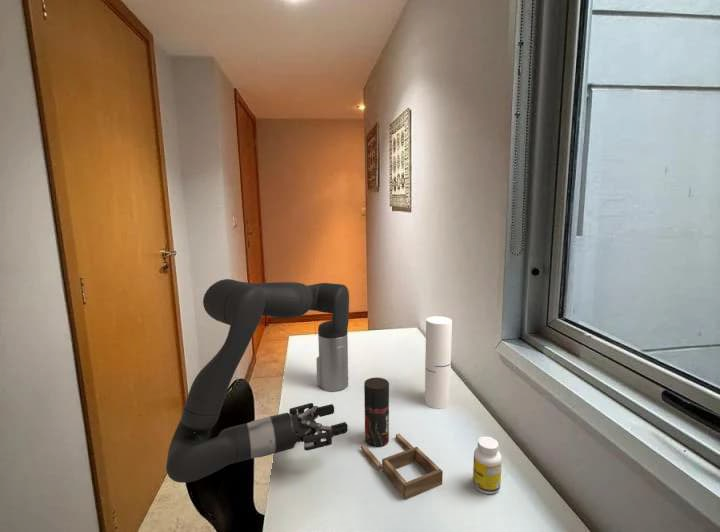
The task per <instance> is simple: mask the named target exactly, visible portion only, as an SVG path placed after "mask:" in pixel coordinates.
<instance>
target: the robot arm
mask: <svg viewBox="0 0 720 532" xmlns="http://www.w3.org/2000/svg"><path fill="white" fill-rule="evenodd" d="M202 304H203V308H204V310H205V312H206V314H207V316H209V317H210V318H212V319H213V320H215V321H216V322H220V323H223V324H225V325H228V326H229V329H228V333H227V337H226V338H225V340H224V343H223V345H222V346H221V347H220V349H219V350H218V352H217V353H216V354H215V355H214V356H213V358H211V360H210V361H208V362H207V363H206V365H204V366H203V368H202V369H200V371H199V372H198V374H196V375H195V378H194V379H193V382H192V383H191V386H190V388H189V392H188V394H187V397H186V400H185V404H184V406H183V410H182V414H181V419H180V420H179V422H178V424H177V426H176V428H175V432H174V434H173V436H172V439H171V442H170V444H169V447H168V452H167V457H166V458H167V459H166V467H165V469H166V473H167V475H168V477H169V478H170V479H171V481H173V482H176V483H182V484H185V483H190V482H191V483H193V482H195V481H198V480H201V479H204V478H206V477H208V476H209V475H211V474H214V473H216V472H218V471H220V470H222V469H223V468H225V467H227V466H229V465H231V464H236V463H239V462H240V463H241V462H243V461H247V460H248V461H249V460H251V459H256V458H263V457H266V456H267V457H268V456H271V455H273V454H278V453H281V452H286V451H288V450H291V449H294V448H295V446H296V444H297V443H300V442H301V443H303V449H304V451H312V450H316V449H320V448H323V447H328V446H331V445H332V444H333V437H337V436H340V435H344V434H347V433H348V428H349V427H348V424H347V422H346V421H344V422H339V423H336V424H333V425H330V426H329V425H323V424H322V423H321V422H317V421H316V419H318V418H322V417H326V416H329V415H334V414H335V406H334V404H333V403H331V404H326V405H321V406H318V405H314V403H313V402H309V403H306V404H302V405H298V406H294V407H291V408H289V410H288V412H284V413H279V414H275V415H271V416H267V417H261V418H259V419H255V420H252V421H250V422H247V423H242V424H238V425H234V426H230V427H227V428H224V429H222V430H221V431H219V434H218V435H217V436H215V437H213V438H210V434H211V431H212V428H213V427H215V425H216V424H217V422H218V420H219V417H220V414H221V411H222V408H223V405H224V402H225V398H226V396H227V393H228V389H229V387H230V385H231V381H232V379H233V376H234V374H235V373H236V371H237V368H238V366H239V365H240V362H241V360H242V358H243V357H244V354H245V352H246V350H247V348H248V346H249V344H250V343H251V340H252V338H253V336H254V333H255V332H256V330H257V328H258V325H259V324H260V321H261V319H262V316H263V317H271V318H277V319H290V318H297V317H301V316H303V315H305V314H306V313H308V311H313V312H320V313H324V314H332V319H331V320H327V321H323V322H322V323H320V324H319V325H318V327H317V332H318V333H317V334H318V335H317V336H318V342H317V343H318V357H316V383H317V385H316V386H317V387H319V388H321V389H322V390H324V391H326V392H327V391H328V392H338V391H343V390H345V389H346V388H348V386H349V347H348V346H349V345H348V344H349V343H348V342H349V341H348V340H349V339H348V338H349V337H348V330H349V329H348V327H349V322H350V321H349V320H350V319H349V316H350V315H349V313H350V312H349V311H350V291H349V288H348V287H347V285H346V284H343V283H342V284H340V283H331V282H330V283H329V282H319V283H316V284H309V285H306V284H304V283H301V282H297V281H296V282H294V281H290V282H289V281H284V282H261V283H255V282H253V283H252V282H247V281H246V282H245V281H240V280H235V279H232V278H231V279H229V278H225V279H224V278H223V279H221V280H218V281H216V282H215V283H213V284H211V285H210V286H209V287H208V288H207V289H206V291H205V293H204V295H203V299H202ZM194 432H195V433H194ZM209 438H210V439H209Z"/></svg>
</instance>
